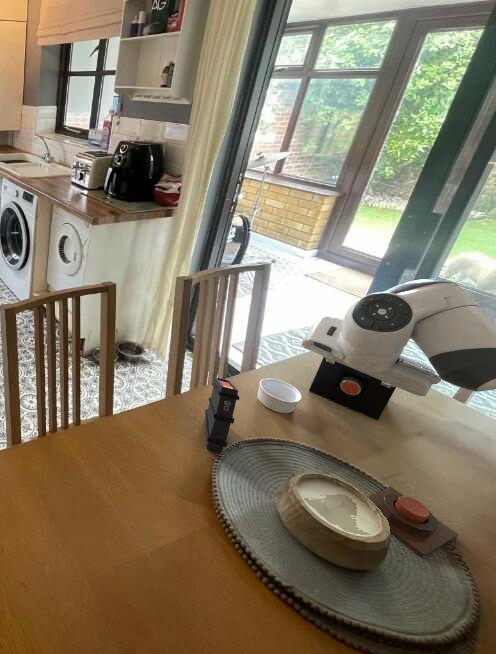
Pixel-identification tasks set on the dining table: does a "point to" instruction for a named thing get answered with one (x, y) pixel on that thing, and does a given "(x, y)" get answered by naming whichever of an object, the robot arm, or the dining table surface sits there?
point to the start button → (412, 509)
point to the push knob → (351, 385)
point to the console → (365, 402)
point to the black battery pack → (220, 414)
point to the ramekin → (278, 395)
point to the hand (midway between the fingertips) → (358, 371)
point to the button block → (412, 525)
